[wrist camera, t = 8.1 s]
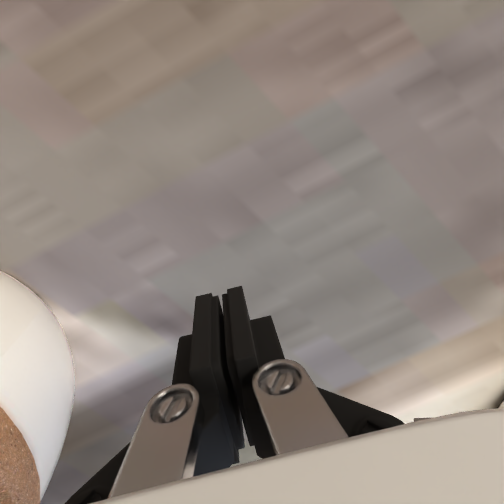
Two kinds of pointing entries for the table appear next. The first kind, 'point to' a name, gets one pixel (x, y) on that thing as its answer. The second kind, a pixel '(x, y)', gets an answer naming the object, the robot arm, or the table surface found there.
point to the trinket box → (31, 393)
